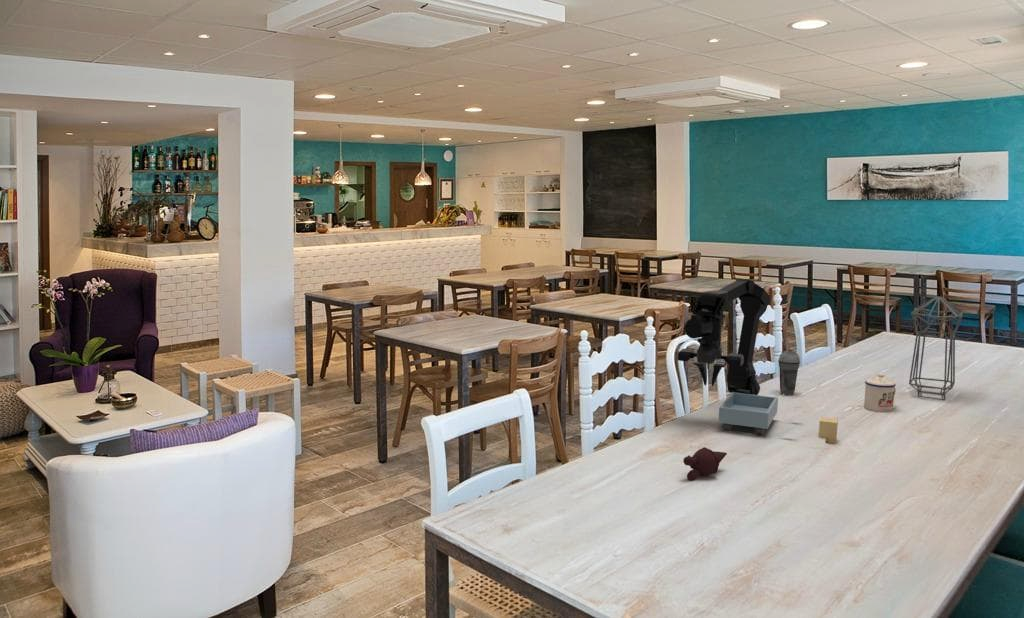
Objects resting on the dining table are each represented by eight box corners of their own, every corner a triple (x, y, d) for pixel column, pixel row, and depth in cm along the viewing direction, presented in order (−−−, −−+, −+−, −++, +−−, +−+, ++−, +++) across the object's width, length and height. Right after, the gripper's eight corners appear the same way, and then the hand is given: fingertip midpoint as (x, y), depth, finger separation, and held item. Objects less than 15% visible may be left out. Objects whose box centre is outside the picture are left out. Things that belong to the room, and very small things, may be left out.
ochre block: (818, 441, 224) (819, 420, 224) (819, 437, 228) (821, 416, 228) (835, 443, 222) (836, 423, 222) (836, 439, 226) (837, 419, 226)
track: (723, 437, 227) (723, 432, 227) (737, 418, 247) (737, 414, 247) (796, 447, 219) (797, 442, 218) (805, 426, 238) (805, 422, 238)
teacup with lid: (881, 413, 253) (883, 378, 251) (856, 407, 261) (859, 372, 259) (905, 409, 259) (908, 374, 257) (881, 402, 267) (883, 368, 265)
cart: (718, 430, 229) (719, 407, 228) (731, 413, 246) (732, 392, 245) (767, 437, 223) (768, 413, 222) (776, 419, 241) (778, 397, 240)
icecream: (712, 439, 204) (671, 455, 196) (734, 439, 198) (694, 456, 190) (717, 466, 204) (677, 483, 196) (740, 467, 198) (700, 484, 190)
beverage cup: (799, 397, 273) (803, 340, 270) (777, 395, 274) (780, 339, 272) (796, 392, 280) (800, 336, 277) (775, 390, 282) (778, 335, 279)
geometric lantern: (954, 404, 265) (964, 300, 260) (902, 397, 273) (910, 297, 268) (957, 394, 278) (966, 295, 273) (907, 388, 286) (915, 292, 281)
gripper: (673, 336, 233) (671, 387, 235) (738, 341, 225) (735, 395, 227) (682, 330, 243) (680, 380, 245) (745, 335, 235) (742, 386, 237)
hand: (709, 385), depth 238 cm, fingers closed
